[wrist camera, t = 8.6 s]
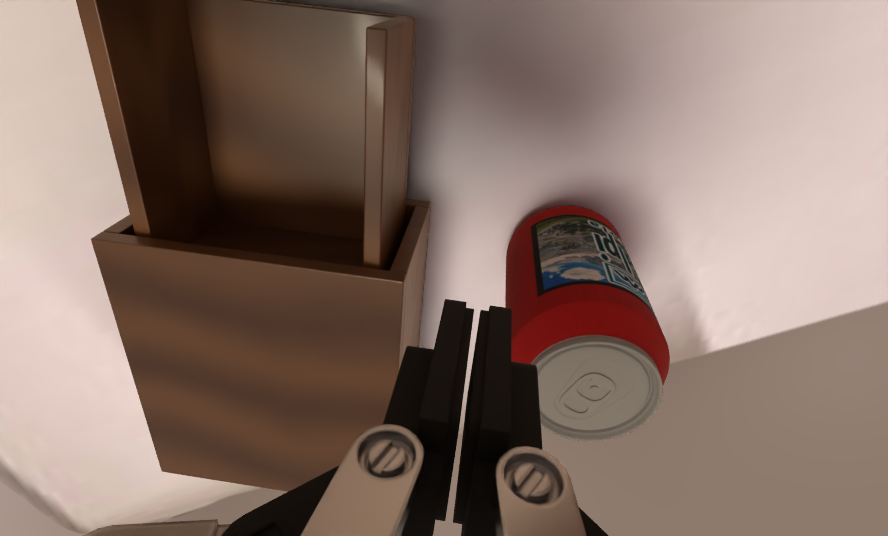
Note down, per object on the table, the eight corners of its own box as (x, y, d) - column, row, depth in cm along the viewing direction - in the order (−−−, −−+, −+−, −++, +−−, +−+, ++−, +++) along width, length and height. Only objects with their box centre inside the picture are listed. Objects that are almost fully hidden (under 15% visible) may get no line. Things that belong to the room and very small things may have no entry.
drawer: (131, -233, 20) (-37, -329, 14) (448, -204, 19) (421, -290, 13) (206, 221, 30) (130, 282, 24) (415, 249, 30) (392, 319, 24)
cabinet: (198, 171, 30) (89, 238, 22) (431, 202, 29) (404, 281, 21) (231, 371, 38) (161, 471, 30) (414, 399, 37) (390, 508, 30)
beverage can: (645, 238, 29) (723, 382, 18) (571, 315, 32) (602, 474, 22) (551, 177, 28) (578, 295, 17) (484, 263, 31) (473, 406, 20)
